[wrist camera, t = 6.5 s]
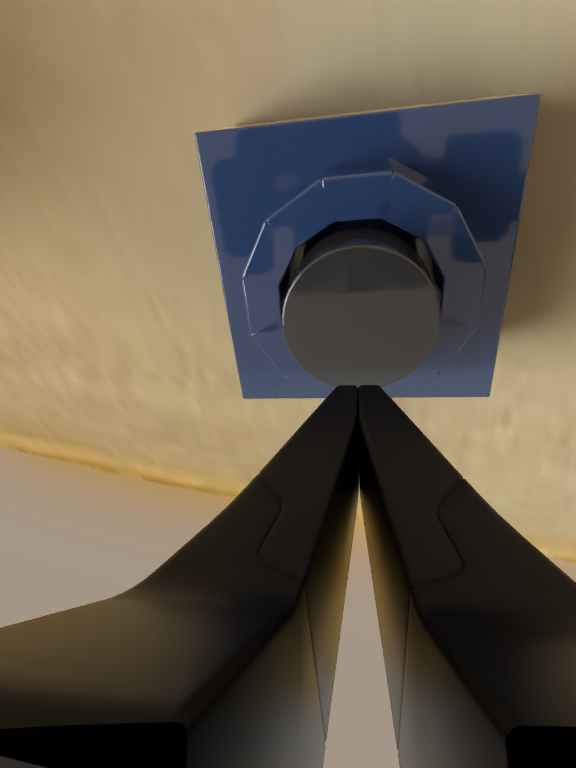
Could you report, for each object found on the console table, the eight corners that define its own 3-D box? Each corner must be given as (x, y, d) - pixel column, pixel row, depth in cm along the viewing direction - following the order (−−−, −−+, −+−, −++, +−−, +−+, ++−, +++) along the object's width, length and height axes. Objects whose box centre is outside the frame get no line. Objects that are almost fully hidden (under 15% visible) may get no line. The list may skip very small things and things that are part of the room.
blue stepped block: (464, 341, 21) (504, 430, 15) (263, 346, 23) (230, 429, 17) (495, 95, 16) (573, 91, 10) (231, 125, 18) (169, 137, 12)
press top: (425, 357, 15) (435, 390, 13) (296, 359, 16) (289, 391, 14) (435, 221, 12) (448, 239, 11) (284, 232, 13) (272, 251, 12)
